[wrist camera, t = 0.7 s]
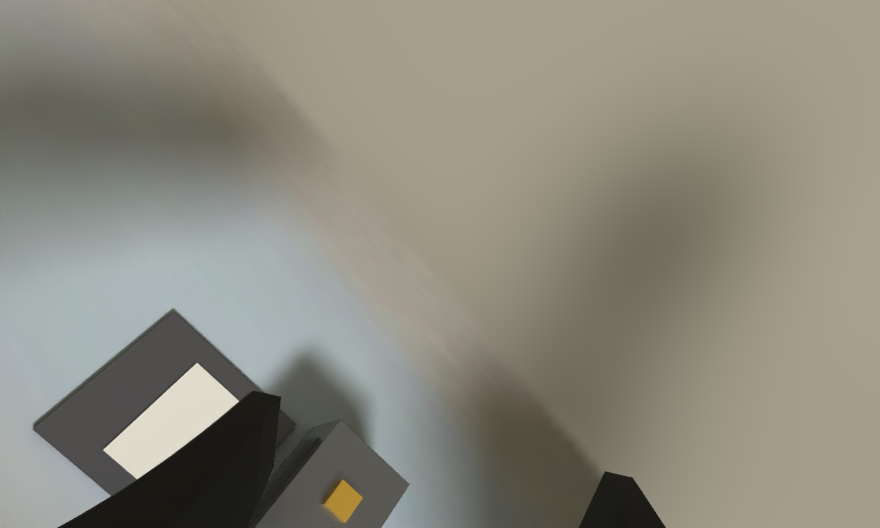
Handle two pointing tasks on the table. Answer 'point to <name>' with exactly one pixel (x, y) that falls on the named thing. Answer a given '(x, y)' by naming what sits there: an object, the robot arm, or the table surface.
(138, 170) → the table surface
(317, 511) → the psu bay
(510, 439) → the table surface
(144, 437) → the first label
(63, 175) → the table surface
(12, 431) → the table surface
